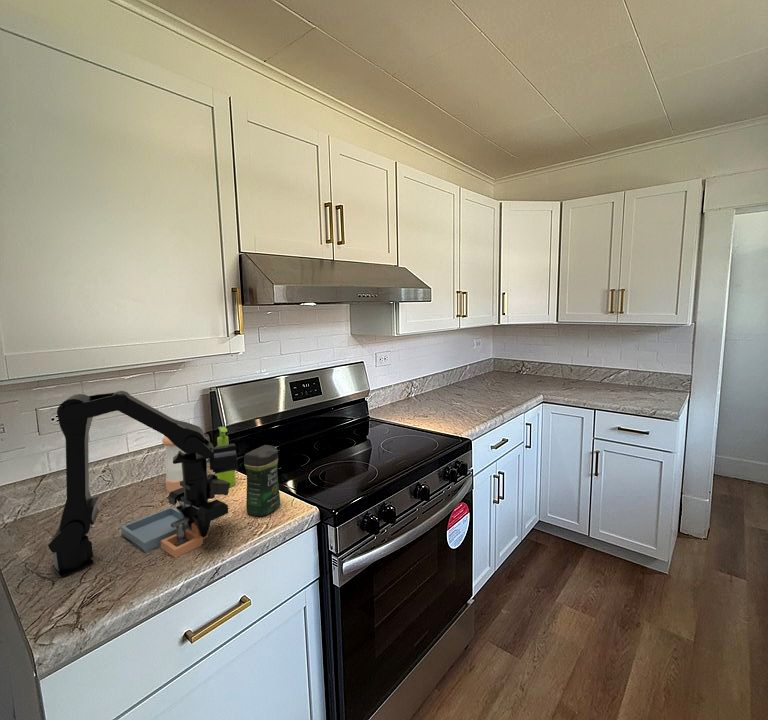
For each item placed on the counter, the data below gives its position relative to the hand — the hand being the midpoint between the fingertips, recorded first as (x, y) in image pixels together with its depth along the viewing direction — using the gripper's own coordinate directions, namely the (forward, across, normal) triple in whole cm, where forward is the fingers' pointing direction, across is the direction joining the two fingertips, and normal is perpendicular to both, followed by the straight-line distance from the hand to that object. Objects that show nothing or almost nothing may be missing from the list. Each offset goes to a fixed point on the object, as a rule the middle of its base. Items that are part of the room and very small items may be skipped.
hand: (199, 534), depth 108 cm
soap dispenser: (+1, +23, -22) cm, 32 cm away
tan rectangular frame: (+1, 0, +3) cm, 4 cm away
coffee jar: (+1, -1, -19) cm, 19 cm away
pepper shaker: (+1, +35, -12) cm, 37 cm away
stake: (+1, 0, +5) cm, 5 cm away
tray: (+1, +12, +5) cm, 12 cm away
